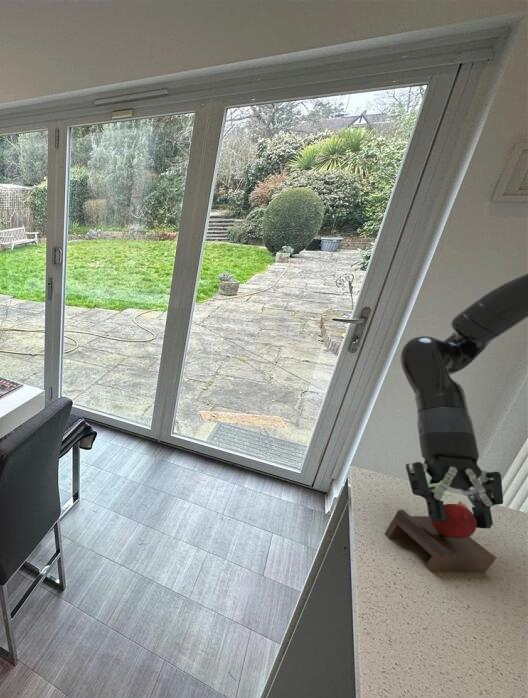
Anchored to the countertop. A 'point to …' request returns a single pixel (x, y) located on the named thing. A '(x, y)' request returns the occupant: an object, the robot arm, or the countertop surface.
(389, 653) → the countertop surface
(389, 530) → the shelf
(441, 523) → the red rounded lump
